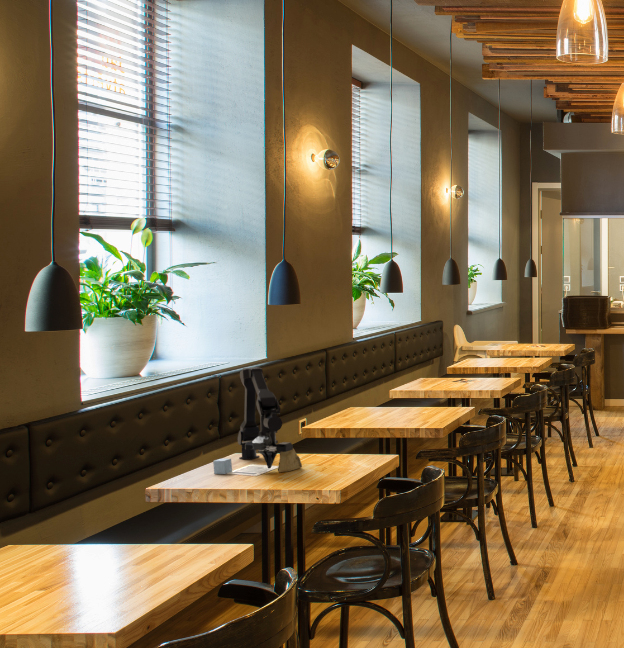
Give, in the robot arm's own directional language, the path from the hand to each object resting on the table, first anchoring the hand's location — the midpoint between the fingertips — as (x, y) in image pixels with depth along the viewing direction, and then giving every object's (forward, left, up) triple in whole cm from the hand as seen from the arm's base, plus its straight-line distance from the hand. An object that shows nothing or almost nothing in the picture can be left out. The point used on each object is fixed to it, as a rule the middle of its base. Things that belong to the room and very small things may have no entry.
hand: (269, 468), depth 313 cm
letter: (0, -8, -1) cm, 8 cm away
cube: (+8, -17, -1) cm, 18 cm away
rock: (-5, +6, -1) cm, 8 cm away
